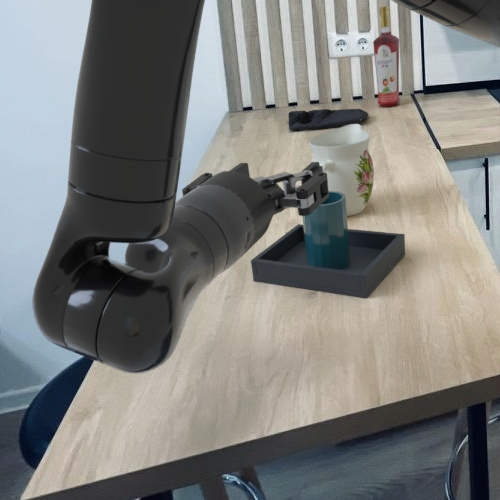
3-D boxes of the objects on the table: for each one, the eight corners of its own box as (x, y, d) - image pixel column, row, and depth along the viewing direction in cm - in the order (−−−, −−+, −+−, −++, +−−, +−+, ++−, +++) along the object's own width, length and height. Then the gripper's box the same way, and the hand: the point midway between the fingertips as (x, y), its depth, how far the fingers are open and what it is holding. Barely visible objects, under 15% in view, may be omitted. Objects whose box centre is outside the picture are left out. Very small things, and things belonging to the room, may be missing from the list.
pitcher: (293, 228, 113) (285, 150, 107) (333, 194, 127) (327, 124, 122) (354, 233, 107) (348, 151, 102) (388, 196, 122) (384, 123, 116)
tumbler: (357, 256, 97) (352, 192, 93) (339, 274, 92) (333, 207, 88) (319, 252, 100) (313, 189, 96) (300, 269, 95) (293, 204, 91)
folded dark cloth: (364, 128, 174) (363, 110, 173) (284, 132, 181) (282, 115, 179) (371, 115, 188) (370, 98, 186) (296, 120, 195) (295, 104, 193)
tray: (405, 254, 97) (404, 234, 96) (366, 298, 86) (365, 275, 85) (300, 242, 106) (298, 224, 105) (253, 281, 95) (250, 260, 94)
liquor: (403, 102, 199) (400, 4, 188) (398, 107, 193) (394, 6, 182) (379, 103, 202) (375, 7, 191) (373, 108, 196) (368, 9, 185)
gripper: (283, 185, 55) (339, 135, 68) (141, 185, 61) (218, 139, 75) (292, 266, 58) (345, 203, 71) (156, 258, 64) (228, 201, 77)
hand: (280, 170), depth 73 cm, fingers open, 8 cm apart
